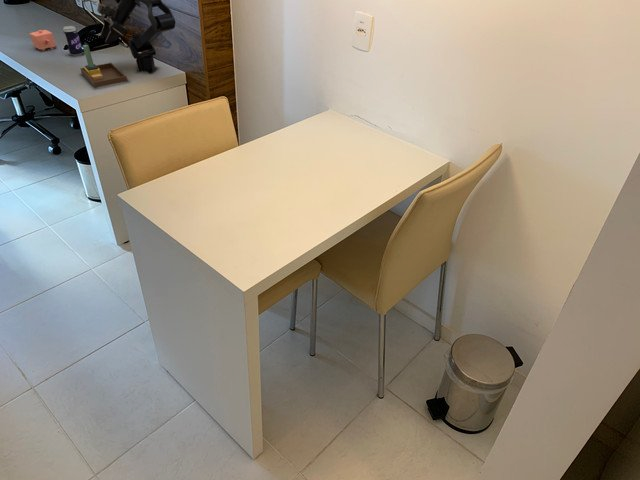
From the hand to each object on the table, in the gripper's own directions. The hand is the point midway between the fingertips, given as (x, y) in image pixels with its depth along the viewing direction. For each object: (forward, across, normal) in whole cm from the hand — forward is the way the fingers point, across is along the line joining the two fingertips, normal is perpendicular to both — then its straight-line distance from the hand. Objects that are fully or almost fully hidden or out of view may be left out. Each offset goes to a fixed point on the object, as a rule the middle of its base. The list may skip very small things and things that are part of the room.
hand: (103, 40), depth 202 cm
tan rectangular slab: (+14, +6, +4) cm, 16 cm away
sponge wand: (+14, 0, +4) cm, 15 cm away
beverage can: (+16, -31, +3) cm, 35 cm away
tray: (+12, +5, +7) cm, 15 cm away
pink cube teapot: (+24, -46, -5) cm, 52 cm away
